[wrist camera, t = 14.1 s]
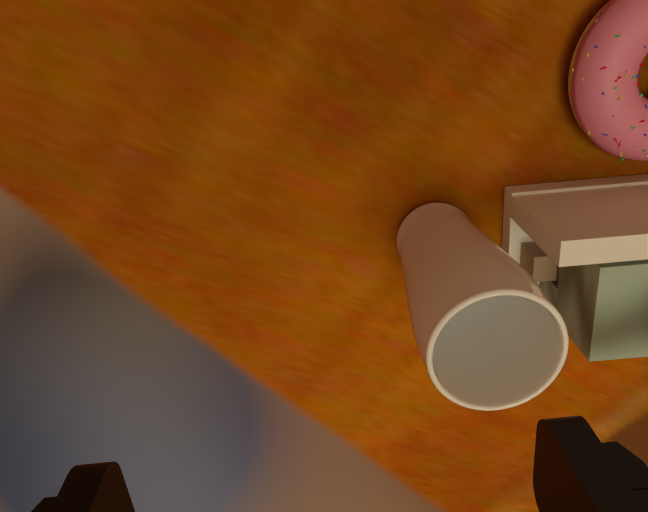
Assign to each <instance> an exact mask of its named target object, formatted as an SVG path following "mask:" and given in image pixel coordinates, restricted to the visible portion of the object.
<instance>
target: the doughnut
mask: <svg viewBox="0 0 648 512" xmlns="http://www.w3.org/2000/svg"><path fill="white" fill-rule="evenodd" d="M647 54H648V0H610V1H609V2H608V3H607V4H605V5H604V6H603V7H602V8H601V9H600V10H599V12H598V13H597V14H596V15H595V16H594V17H593V19H592V20H591V21H590V23H589V24H588V25H587V27H586V28H585V30H584V32H583V33H582V35H581V37H580V39H579V41H578V43H577V46H576V48H575V51H574V53H573V56H572V60H571V64H570V69H569V76H568V93H569V100H570V105H571V108H572V111H573V114H574V116H575V119H576V120H577V122H578V124H579V126H580V127H581V128H582V130H583V131H584V133H585V134H586V135H587V137H588V138H589V139H590V140H591V141H592V142H593V143H594V144H595V145H596V146H597V147H599V148H600V149H602V150H603V151H604V153H605V152H607V153H609V154H611V155H613V156H616V157H620V158H623V159H622V160H621V161H623V160H624V159H630V160H636V161H648V98H646V97H644V96H643V94H641V93H640V92H639V90H638V85H640V83H639V84H637V77H639V76H638V71H639V68H640V66H641V65H644V63H642V61H643V59H644V58H645V56H646V55H647ZM641 63H642V64H641Z"/></svg>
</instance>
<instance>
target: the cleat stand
mask: <svg viewBox="0 0 648 512" xmlns="http://www.w3.org/2000/svg"><path fill="white" fill-rule="evenodd" d="M502 249H503V250H504V251H505V252H506V253H508V254H509V255H510V256H511V257H512V258H513V259H514V260H516V261H517V262H518V263H519V264H520V265H521V266H522V267H523V268H524V269H525V270H526V271H527V272H528V273H529V274H530V275H531V276H532V277H533V279H534V280H535V281H536V282H537V283H538V285H539V282H544V281H556V280H558V278H559V267H566V266H577V265H589V264H601V263H612V262H624V261H635V260H647V259H648V174H642V175H630V176H619V177H608V178H596V179H585V180H574V181H562V182H551V183H539V184H528V185H517V186H505V187H504V210H503V233H502Z"/></svg>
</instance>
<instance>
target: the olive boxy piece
mask: <svg viewBox="0 0 648 512" xmlns="http://www.w3.org/2000/svg"><path fill="white" fill-rule="evenodd" d="M539 286H540V287H541V288H542V289H543V291H544V292H545V293H546V295H547V296H548V297H549V299H550V300H551V302H552V303H553V305H554V306H555V308H556V309H557V310H558V312H559V313H560V315H561V316H562V318H563V320H564V322H565V325H566V327H567V332H568V336H569V337H570V338H571V339H572V341H573V342H574V343H575V344H576V346H577V347H578V348H579V349H580V351H581V352H582V353H583V354H584V356H585V357H586V358H587V359H588V361H600V360H612V359H623V358H635V357H647V356H648V259H647V260H635V261H624V262H612V263H601V264H589V265H577V266H566V267H559V278H558V280H556V281H544V282H539Z"/></svg>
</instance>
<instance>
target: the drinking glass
mask: <svg viewBox="0 0 648 512" xmlns="http://www.w3.org/2000/svg"><path fill="white" fill-rule="evenodd" d="M397 249H398V253H399V256H400V259H401V263H402V269H403V275H404V281H405V288H406V294H407V301H408V307H409V314H410V319H411V324H412V328H413V332H414V336H415V339H416V342H417V345H418V348H419V351H420V354H421V356H422V359H423V362H424V364H425V366H426V369H427V371H428V373H429V376H430V378H431V380H432V382H433V383H434V385H435V386H436V388H437V389H438V390H439V391H440V392H441V393H442V394H443V395H444V396H445V397H447V398H448V399H449V400H451V401H452V402H454V403H456V404H458V405H461V406H463V407H467V408H470V409H475V410H486V411H491V410H501V409H507V408H511V407H514V406H517V405H520V404H522V403H524V402H527V401H529V400H530V399H532V398H534V397H535V396H537V395H538V394H540V393H541V392H542V391H544V390H545V389H546V388H547V387H548V386H549V385H550V384H551V383H552V382H553V381H554V379H555V378H556V377H557V375H558V374H559V372H560V371H561V369H562V367H563V365H564V362H565V360H566V356H567V352H568V342H569V339H568V332H567V327H566V325H565V322H564V320H563V318H562V316H561V315H560V313H559V312H558V310H557V309H556V308H555V306H554V305H553V303H552V302H551V300H550V299H549V297H548V296H547V295H546V293H545V292H544V291H543V289H542V288H541V287H540V286H539V285H538V283H537V282H536V281H535V280H534V279H533V277H532V276H531V275H530V274H529V273H528V272H527V271H526V270H525V269H524V268H523V267H522V266H521V265H520V264H519V263H518V262H517V261H516V260H514V259H513V258H512V257H511V256H510V255H509V254H508V253H506V252H505V251H504V250H503V249H502V248H501V247H500V246H498V245H497V244H496V243H495V242H494V241H493V240H491V239H490V238H489V237H488V236H487V235H486V234H485V233H483V232H482V231H481V230H480V229H479V228H478V227H477V226H476V225H474V224H473V223H472V222H471V220H470V219H469V218H468V217H467V215H466V214H465V213H464V212H463V211H461V210H460V209H459V208H457V207H455V206H453V205H450V204H447V203H439V202H436V203H429V204H425V205H422V206H420V207H418V208H416V209H415V210H413V211H412V212H411V213H409V214H408V215H407V216H406V218H405V219H404V220H403V222H402V223H401V225H400V227H399V230H398V234H397Z"/></svg>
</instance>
